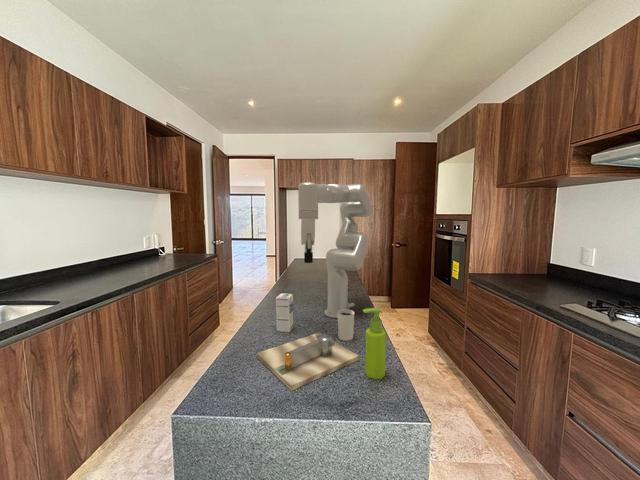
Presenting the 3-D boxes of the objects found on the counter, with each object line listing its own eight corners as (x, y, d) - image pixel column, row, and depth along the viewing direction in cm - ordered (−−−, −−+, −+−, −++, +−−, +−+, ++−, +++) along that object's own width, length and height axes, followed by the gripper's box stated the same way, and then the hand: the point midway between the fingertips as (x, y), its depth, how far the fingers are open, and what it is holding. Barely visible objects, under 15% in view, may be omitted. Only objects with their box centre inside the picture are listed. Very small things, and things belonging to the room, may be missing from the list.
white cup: (335, 339, 104) (335, 314, 103) (339, 332, 110) (340, 308, 109) (352, 342, 102) (352, 316, 101) (355, 334, 108) (356, 310, 107)
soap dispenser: (359, 368, 85) (360, 306, 83) (381, 367, 85) (383, 305, 83) (364, 379, 79) (365, 313, 77) (387, 378, 79) (389, 312, 77)
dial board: (318, 336, 107) (318, 332, 107) (358, 360, 89) (359, 355, 89) (257, 357, 91) (256, 352, 91) (291, 391, 74) (291, 385, 74)
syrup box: (289, 332, 110) (289, 297, 109) (276, 331, 111) (275, 296, 110) (294, 326, 116) (293, 293, 114) (280, 325, 117) (280, 292, 116)
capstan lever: (322, 345, 95) (322, 331, 95) (338, 354, 89) (338, 339, 89) (277, 365, 83) (277, 348, 83) (293, 376, 77) (293, 359, 77)
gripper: (298, 215, 111) (298, 259, 113) (298, 215, 97) (299, 266, 98) (316, 215, 112) (316, 259, 114) (319, 215, 97) (319, 266, 99)
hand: (308, 262), depth 106 cm, fingers closed
